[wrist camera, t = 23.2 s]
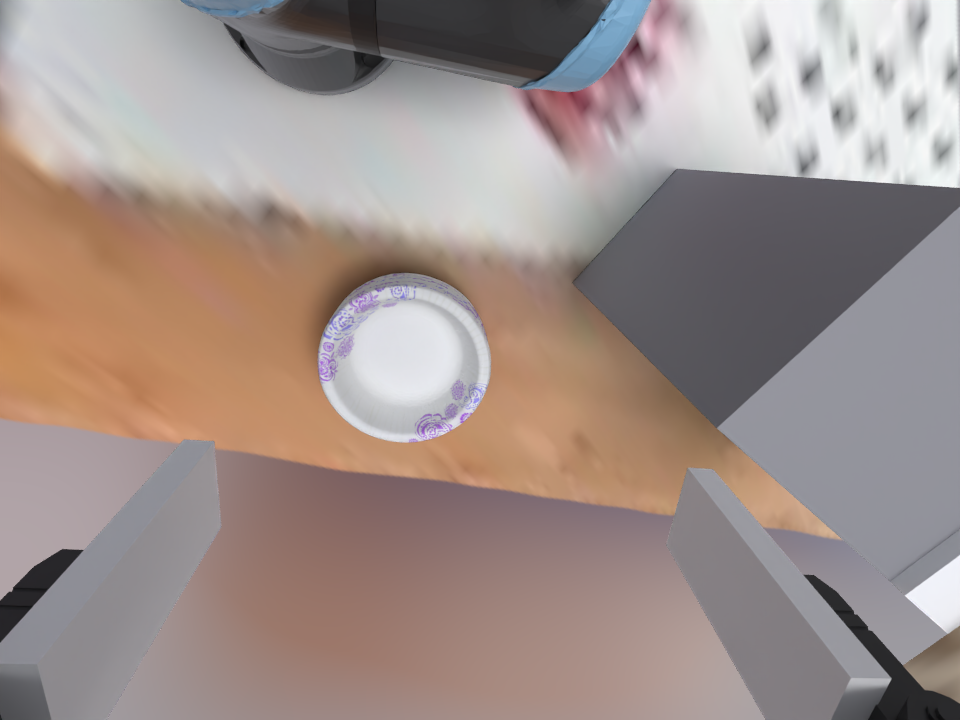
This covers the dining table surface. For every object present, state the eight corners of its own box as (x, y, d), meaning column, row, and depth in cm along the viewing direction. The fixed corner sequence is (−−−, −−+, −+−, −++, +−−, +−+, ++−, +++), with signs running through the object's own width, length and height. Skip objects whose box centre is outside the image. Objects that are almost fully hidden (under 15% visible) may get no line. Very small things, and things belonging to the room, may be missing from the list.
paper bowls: (444, 429, 58) (444, 469, 50) (310, 371, 55) (289, 406, 47) (512, 307, 53) (523, 332, 46) (370, 237, 50) (358, 251, 43)
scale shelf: (752, 444, 61) (1029, 705, 32) (572, 282, 53) (727, 438, 24) (852, 355, 58) (1260, 558, 29) (676, 168, 50) (1002, 190, 21)
